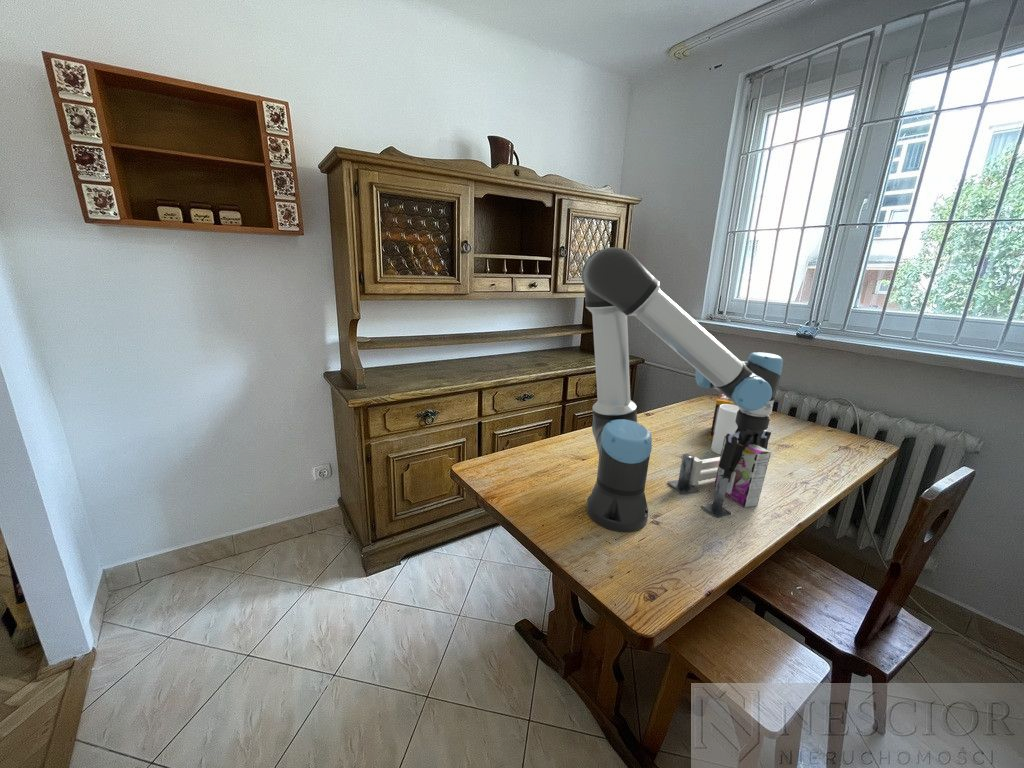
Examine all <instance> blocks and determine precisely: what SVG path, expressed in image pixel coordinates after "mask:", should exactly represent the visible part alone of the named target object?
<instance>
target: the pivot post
mask: <svg viewBox="0 0 1024 768" xmlns="http://www.w3.org/2000/svg"><path fill="white" fill-rule="evenodd" d="M694 457H695V455H693V454H690V453H683V454H682V457H681V458H682V459H681V463H680V469H679V475H678V479H677V480H671V481H667V485H668V486H670V487H671V488H672V489H674V490H675V491H676V492H677V493H679V494H681V495H682V496H683V495H686V494H687V495H688V494H692V493H696V492H697V493H698V492H700V489H699V488H698V487H696V485H691V484H690V478H691V473H692V467H693V462H694Z"/></svg>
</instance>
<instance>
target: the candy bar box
mask: <svg viewBox="0 0 1024 768" xmlns="http://www.w3.org/2000/svg"><path fill="white" fill-rule="evenodd" d="M725 443H726V436H725V437H724V442H723V446H722V451H721V455H720V456H719V457H720V460H721V457H722V453H723V450H724V447H725ZM737 444H739V443H737ZM739 445H741V444H739ZM741 446H743V445H741ZM771 454H772V451H770V450H768V448H767V449H765V448H763V447H761V446H759V445H755V444H751V445H749V446H748V447H746V448H745V450H743V452H742V456H741V458H740V460H739V462H738V464H737V466H736V468H735V470H734V472H736V475H735V479H734V484H733V488H732V493H731V494H728V493H726V494H725V496H727V497H729V499H731V500H733V501H734V502H735V503H737V504H738V505H740V506H741V507H742V508H751V507H757V506H758V505H759V502H760V498H761V493H762V489H763V486H764V481H765V479H766V478H765V477H766V473H767V470H768V466H769V463H770V458H771ZM719 463H720V461H719ZM730 467H731V466H730ZM717 468H718V470H717V475H716V478H714V479H715V480H714V485H713V487H714V488H716V485H717V480H718V476H719V475H723V474H724V470H723V469H722V468H720V467H719V465H718V467H717Z"/></svg>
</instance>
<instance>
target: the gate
mask: <svg viewBox="0 0 1024 768" xmlns="http://www.w3.org/2000/svg"><path fill="white" fill-rule="evenodd" d="M719 461H720V456H717V457H712V458H705V459H700V458H698V457H697V456H694V462H693V467H692V473H691V478H690V484H691V485H693V486H697V485H699V482H701V481H707V480H711V479H716V475H717V470H718V465H719Z"/></svg>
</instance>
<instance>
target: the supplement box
mask: <svg viewBox="0 0 1024 768" xmlns="http://www.w3.org/2000/svg"><path fill="white" fill-rule="evenodd" d="M722 404H731V405H736V404H735V403H734V402H733V401H731V400H730V399H729V398H728V397H726V396H725V395H724V394H722V393H721V392H719V395H718V397H717V399H716V403H715V407H714V414H713V420H712V424H711V429H710V433H709V438H708V439H709V440H712V441H713V437H714V432H715V427H716V422H717V417H718V412H719V407H720V405H722ZM736 406H737V405H736Z"/></svg>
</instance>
